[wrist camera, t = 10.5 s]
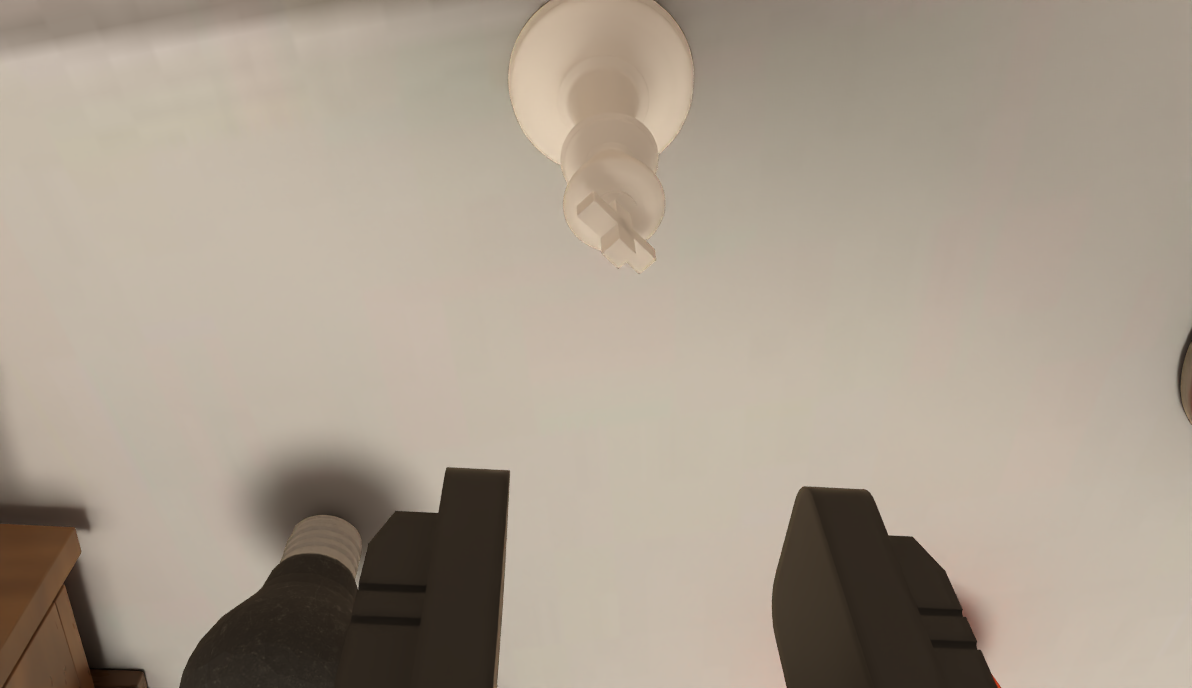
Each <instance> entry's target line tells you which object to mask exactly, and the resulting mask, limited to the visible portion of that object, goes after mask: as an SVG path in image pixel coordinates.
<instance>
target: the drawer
mask: <svg viewBox="0 0 1192 688" xmlns="http://www.w3.org/2000/svg"><path fill="white" fill-rule="evenodd" d="M80 554H81V548H80V544H79V540H78V537H77V533H76V529H75V527H62V526H41V525H19V524H0V688H95V687H94V684H93V680H92V677H91V673H90V670H89V666H88V663H87V659H86V656H85V653H84V649H83V646H82V642H81V639H80V635H79V632H78V628H77V625H76V622H75V618H74V615H73V611H72V608H71V604H70V601H69V597H68V594H67V591H66V587H65V585H63V583H64V581H65V579H66V578H67V576H68V574H69V573H70V571H71V569H72V568H73V566H74V564H75V562H76V561H77V559H78V557H79V556H80Z"/></svg>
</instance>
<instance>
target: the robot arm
mask: <svg viewBox="0 0 1192 688" xmlns="http://www.w3.org/2000/svg"><path fill="white" fill-rule="evenodd" d="M1180 385H1181V398H1182V404H1183V407H1184V410H1185V413H1186V416H1187V418H1188V419H1189V421H1190V423H1191V425H1192V341H1191V343H1190V346H1189V348H1188V351H1187V354H1186V357H1185V360H1184V363H1183V368H1182V373H1181V384H1180ZM509 483H510V471H509V470H490V469H470V468H451V467H447V468H446V472H445V477H444V482H443V489H442V495H441V501H440V507H439V513H426V512H405V511H395V512H394V514H393V515H392V516H391V517H390V518H389V520H388V521H387V522H386V523H385V524H384V526H383V527H382V528H381V529H380V530H379V532H378V533H377V534H376V535H375V536H374V538H373V539H372V540H371V541H370V542H369V544H368V548H367V552H366V556H365V560H364V564H363V568H362V572H361V576H360V581H359V589H358V591H357V593H356V597H355V601H354V605H353V609H352V613H351V622H350V624H349V626H348V630H347V634H346V638H345V642H344V646H343V650H342V655H341V659H340V663H339V667H338V671H337V675H336V679H335V683H334V688H497V678H498V664H499V650H500V636H501V622H502V608H503V593H504V576H505V558H506V539H507V521H508V502H509ZM962 610H963V609H962V607H961V605H960V603H959V601H958V598H957V596H956V594H955V592H954V589H953V587H952V585H951V583H950V581H949V578H948V576H947V574H946V572H945V570H944V569H943V568H942V567H941V566H940V565H939V564H938V563H937V562H936V561H935V560H934V559H933V558H932V557H931V556H930V555H929V553H928V552H927V551H926V550H925V549H924V548H923V547H922V546H921V545H920V544H919V543H918V542H917V541H916V540H915V539H914V538H913V537H908V536H888V533H887V531H886V528H885V526H884V523H883V521H882V518H881V516H880V513H879V511H878V508H877V506H876V503H875V501H874V499H873V497H872V495H871V494H870V492H868V491H867V490H864V489H845V488H825V487H806V486H805V487H802V488H801V489H800V490H799V492H798V494H797V496H796V499H795V503H794V506H793V510H792V514H791V518H790V522H789V525H788V529H787V533H786V537H785V541H784V544H783V548H782V552H781V556H780V559H779V563H778V567H777V571H776V575H775V579H774V585H773V593H772V618H773V628H774V633H775V638H776V643H777V647H778V651H779V656H780V660H781V664H782V669H783V673H784V677H785V682H786V686H787V688H998V687H997V685H996V683H995V681H994V678H993V676H992V674H991V672H990V669H989V667H988V665H987V663H986V661H985V658H984V656H983V654H982V652H981V650H977V646H976V643H977V641H976V638H975V636H974V634H973V632H972V629H971V627H970V625H969V623H968V621H967V618H966V617H963V616H962Z"/></svg>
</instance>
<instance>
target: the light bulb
mask: <svg viewBox="0 0 1192 688" xmlns="http://www.w3.org/2000/svg"><path fill="white" fill-rule="evenodd" d="M361 545H362V541H361V537H360V535H359V533H358V531H357V529H356V528H355V527H353V526H352V525H351V524H350V523H349V522H347V521H345V520H343V519H341V518H338V517H335V516H330V515H316V516H312V517H308V518H305V519H304V520H302V521H301V522H299V523H298V524H297V525H296V526H295V528H294V530H293V533H292V535H291V536H290V537H289V539H288V541H287V544H286V548H285V550H284V553H283V557H282V559H281V561H280V564H278V565H277V566H276V567H275V568H274V569H273V570H272V572H271V574H270V575H269V577H268V579H267V580H266V582H265V584H264V585H263V587H262V588H261V589H260V590H259V591H258V592H257V593H256V594H254V595H253V596H251V597H250V598H248V599H247V600H245V601H244V602H243V603H241V604H240V605H238V606H237V607H235V608H234V609H232V610H231V611H230V612H228V613H227V614H225V615H224V616H223V617H221V618H220V620H219V621H218V622H217V623H216V624H215V625H214V626H213V627H212V628H211V629H210V630H209V632H208V633H207V634H206V635H205V636H204V637H203V638H202V639H201V640H200V642H199V644H198V645H197V647H196V648H195V650H194V651H193V653H192V655H191V656H190V658H189V660H188V662H187V665H186V667H185V669H184V671H183V674H182V678H181V683H180V687H179V688H334V683H335V679H336V675H337V671H338V667H339V663H340V659H341V655H342V650H343V646H344V642H345V638H346V634H347V630H348V626H349V624H350V622H351V613H352V609H353V605H354V601H355V597H356V593H357V591H358V589H357V585H356V582H355V577H356V575H357V571H358V566H359V561H360V558H361V553H362V550H361Z"/></svg>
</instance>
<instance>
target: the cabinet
mask: <svg viewBox="0 0 1192 688" xmlns="http://www.w3.org/2000/svg"><path fill="white" fill-rule="evenodd" d="M89 670H90V673H91V677H92V680H93V684H94V687H95V688H147V684H146V680H145V676H144V672H143V671H128V670H101V669H89Z"/></svg>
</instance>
